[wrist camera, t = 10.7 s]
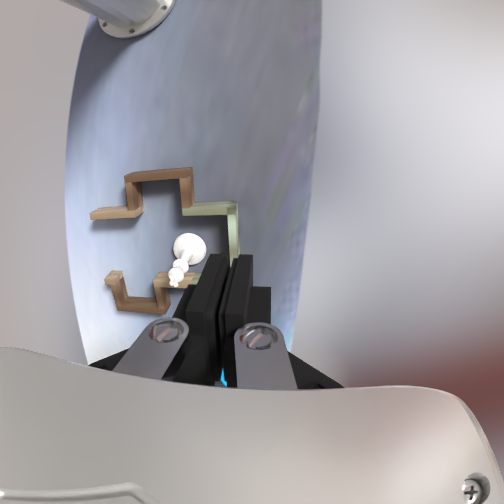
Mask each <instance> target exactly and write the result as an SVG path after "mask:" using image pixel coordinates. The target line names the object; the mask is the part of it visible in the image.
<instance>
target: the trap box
mask: <svg viewBox="0 0 504 504" xmlns="http://www.w3.org/2000/svg"><path fill="white" fill-rule="evenodd" d="M124 179H125V188H126V196H127V203H128V206H118V207H104V208H98V209H97V210H95V211H93V212H91V213H90V219H91V220H97V219H115V218H135V217H137V216H138V215H140V214H141V213H143V212H144V207H143V199H142V191H141V182H140V181H152V180H165V179H179V180H180V192H181V203H182V214H183V216H193V215H228V233H229V250H230V267H231V265H232V261H233V258H238V256H239V254H240V249H239V226H238V202H237V201H236V202H196V203H195V199H194V185H193V171H192V167H189V168H174V169H162V170H150V171H140V172H133V173H130V174H127V175H125V176H124ZM168 273H169V272H159V273H158V275H157V276H156V277H155V279H154V280H153V284H154V289H155V294H156V298H145V297H129V296H128V294H127V290H126V286H125V282H124V278H123V274H122V271H111V272H110V273H109V274H108V275H107V276H106V277H105V279H104V281H105V284H107V285H111V289H112V292H113V296H114V300H115V303H116V306H117V310H120V311H131V312H143V313H156V314H166V312H167V310H168V309H169V307H170V305H171V302H170V296H169V291H168V287H169V288H187V286H188V284H197V283H198V280H199V278H200V276H201V274H202V273H184V278H183V280H182V281H181V282H177V283H178V287H174V285H173V286H171V285H170V281H171V280H170V278H169V275H168Z"/></svg>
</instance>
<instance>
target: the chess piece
mask: <svg viewBox="0 0 504 504" xmlns="http://www.w3.org/2000/svg"><path fill="white" fill-rule="evenodd" d="M173 250H174V254H175V256H176V257H177V260H175V261H174V263H173V268H172V269H171V270H170V271H169V273H168V275H169V278H170V280H171V281H170V285H171V286H173V285H174V287H178V283H177V282H181V281H182V280H183V278H184V273H185V272H187V271H188V265H194V264H197V263H199V262H200V261H201V260H202V259H203V258H204V256H205V254H206V246H205V243H204V241H203V240H202V239H201V238H200V237H199V236H197V235H195V234H192V233H185V234H182V235H180V236H179V237H178V238H177V239H176V241H175V243H174V247H173Z"/></svg>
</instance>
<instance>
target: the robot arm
mask: <svg viewBox="0 0 504 504" xmlns="http://www.w3.org/2000/svg"><path fill="white" fill-rule="evenodd" d="M60 1H62V2H65V3H67V4H69V5H72V6H74V7H76V8H79V9H81V10H83V11H85V12H87V13H89V14H91V15H93V16H95V17H98V21H99V25H100V27H101V28H102V30H103V31H104V32H105V33H107V34H109V35H110V36H113V37H116V38H132V37H136V36H139V35H142V34H144V33H146V32H148V31H150V30H152V29H153V28H154V27H156V26H157V25H158V24H160V23H161V22H162V21H163V20H164V19H165V18H166V16H167V15H168V14H169V13H170V11H171V10H172V8H173V6H174V4H175V1H176V0H60ZM165 9H166V10H165ZM133 32H134V33H133ZM222 370H223V372H224V381H226V382H227V387H220V386H214V385H215V381H220V380H221V376H222ZM0 504H504V482H503V479H502V476H501V473H500V470H499V467H498V464H497V461H496V459H495V456H494V454H493V452H492V449H491V447H490V444H489V442H488V440H487V438H486V436H485V434H484V432H483V430H482V428H481V426H480V424H479V423H478V421H477V419H476V418H475V416H474V414H473V413H472V412H471V411H470V409H469V408H468V407H467V405H466V404H465V403H464V402H463V401H462V400H461V399H459V398H458V397H456V396H455V395H453V394H450V393H447V392H445V391H441V390H438V389H432V388H426V387H418V386H376V387H358V388H344V387H343V386H342V385H340V384H339V383H337V382H336V381H334V380H333V379H331V378H329V377H327V376H326V375H324V374H323V373H321V372H320V371H318V370H316V369H315V368H313V367H312V366H310V365H308V364H307V363H305V362H304V361H302V360H301V359H299V358H298V357H296V356H295V355H293V354H291V353H290V352H288V351H287V348H286V345H285V341H284V337H283V335H282V333H281V331H280V330H279V329H278V328H277V327H275V326H273V325H271V287H253V255H241V254H239V256H238V258H233V261H232V265H231V268H230V258H225V255H224V254H210V256H209V258H208V260H207V262H206V265H205V267H204V269H203V271H202V274H201V276H200V278H199V280H198V283H197V284H188V286H187V288H186V290H185V292H184V294H183V296H182V298H181V300H180V302H179V304H178V306H177V309H176V311H175V313H174V315H173V317H172V318H170V317H168V318H161V319H158V320H155V321H153V322H152V323H150V324H149V325H148V326H147V327H146V328H145V329H144V331H143V332H142V333H141V334H140V336H139V337H138V338H137V339H136V341H135V342H134V343H133V345H132V346H131V347H130V348H129V349H126V350H124V351H121V352H119V353H117V354H114V355H112V356H109V357H107V358H104V359H102V360H99V361H97V362H94V363H92V364H90V365H88V366H86V365H82V364H78V363H74V362H70V361H66V360H63V359H59V358H55V357H52V356H48V355H44V354H40V353H37V352H33V351H29V350H25V349H19V348H10V347H0Z"/></svg>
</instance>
